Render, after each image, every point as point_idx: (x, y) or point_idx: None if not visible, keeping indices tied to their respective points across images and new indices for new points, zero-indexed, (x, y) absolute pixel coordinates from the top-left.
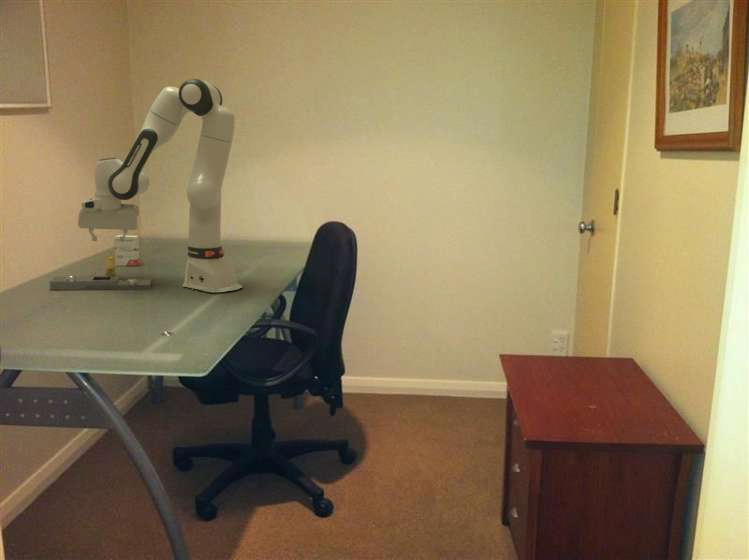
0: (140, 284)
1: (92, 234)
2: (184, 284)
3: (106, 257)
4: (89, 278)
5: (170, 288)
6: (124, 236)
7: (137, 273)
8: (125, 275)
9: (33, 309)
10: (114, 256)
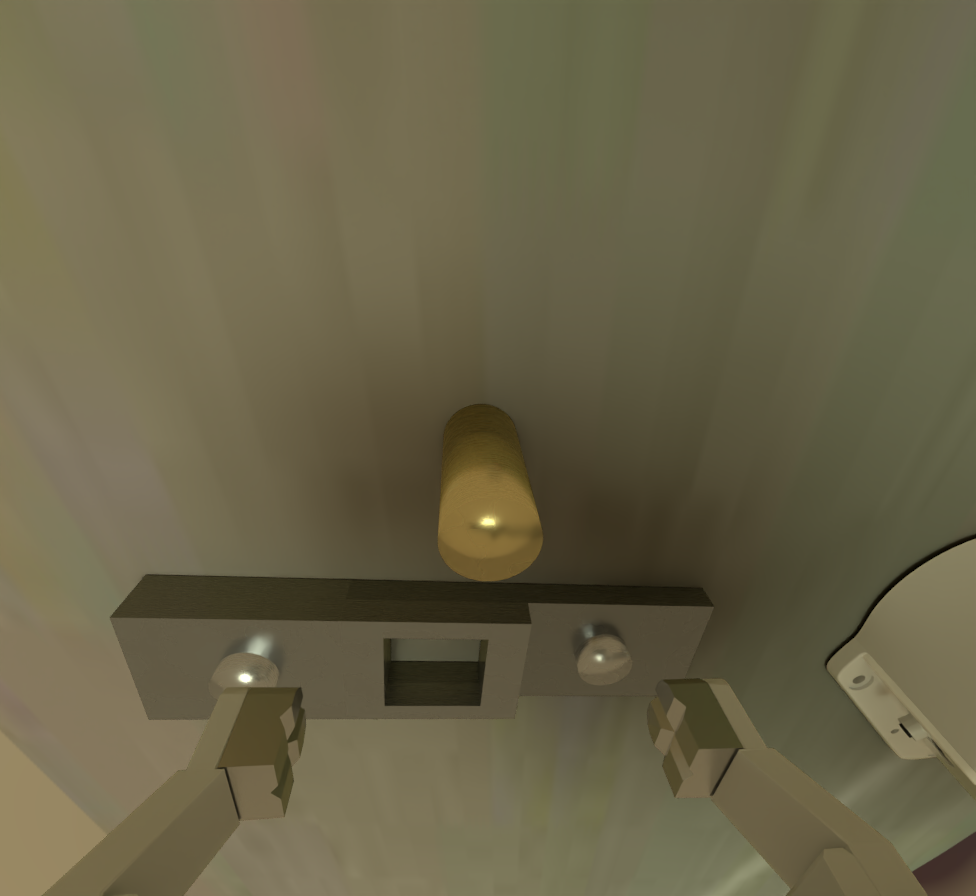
0: (634, 688)
1: (195, 867)
2: (847, 678)
3: (449, 555)
4: (359, 670)
5: (766, 669)
6: (748, 811)
7: (693, 275)
8: (587, 345)
9: (231, 862)
10: (529, 513)
